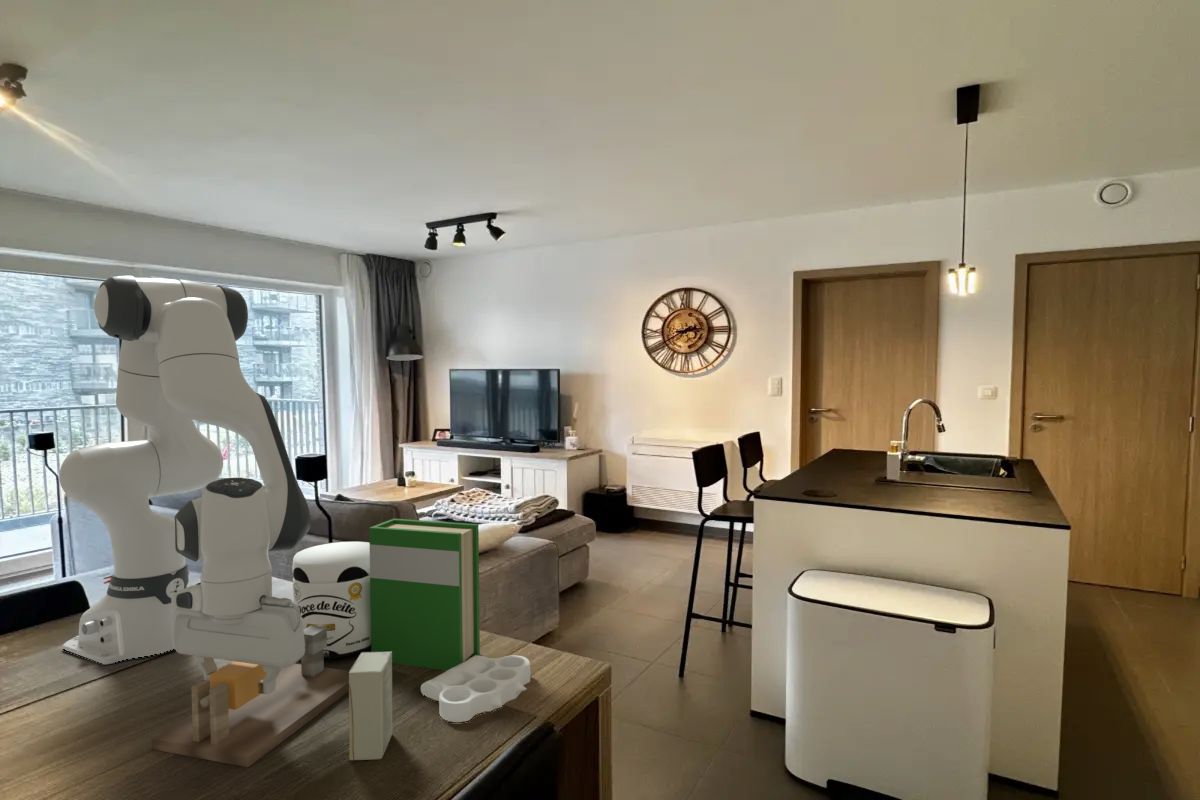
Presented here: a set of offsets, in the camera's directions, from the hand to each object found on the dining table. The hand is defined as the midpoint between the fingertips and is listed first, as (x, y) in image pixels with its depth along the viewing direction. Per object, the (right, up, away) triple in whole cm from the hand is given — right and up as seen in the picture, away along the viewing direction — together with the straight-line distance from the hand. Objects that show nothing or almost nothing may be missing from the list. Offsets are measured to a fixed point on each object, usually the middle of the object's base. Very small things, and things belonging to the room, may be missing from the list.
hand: (239, 688), depth 91 cm
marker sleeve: (0, -1, 0) cm, 1 cm away
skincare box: (+21, -7, -4) cm, 22 cm away
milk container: (+3, -5, +28) cm, 29 cm away
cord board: (+1, -6, +5) cm, 8 cm away
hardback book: (+20, -5, +24) cm, 32 cm away
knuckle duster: (+33, -6, +11) cm, 35 cm away
